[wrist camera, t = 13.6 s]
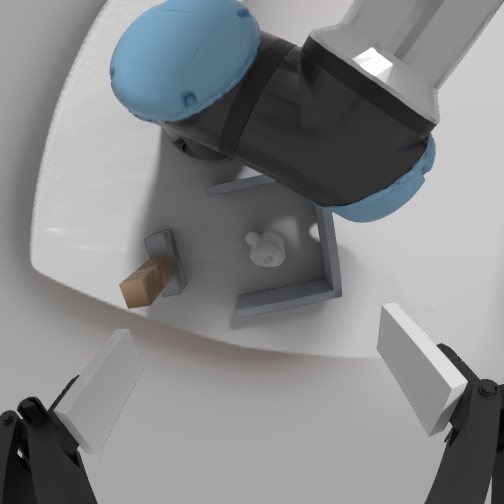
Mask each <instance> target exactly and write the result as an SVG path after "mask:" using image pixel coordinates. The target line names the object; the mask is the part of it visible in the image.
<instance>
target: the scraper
mask: <svg viewBox="0 0 504 504" xmlns="http://www.w3.org/2000/svg"><path fill="white" fill-rule="evenodd" d="M144 240H145V244H146V247H147V250H148V254H149V257H150V260H148V261H147V262H146V263H145V264H144V265H142V266H141V267H140V268H139V269H137V270H136V271H135V272H134V273H133V274H131V275H130V276H129V277H128V278H127V279H125V280H124V281H123V282H122V283H121V284H119V285H120V288H121V291H122V294H123V296H124V299H125V302H126V304H127V307H128V309H130V308H137V307H143V306H150V305H151V304H152V303H153V301H154V300H155V299H156V298H157V296H158V295H159V294H160V293H161V294H162V297H166V296H172V295H178V294H181V293H182V291H183V289H184V288H185V286H186V285H187V282H186V279H185V276H184V272H183V269H182V266H181V262H180V259H179V255H178V252H177V248H176V245H175V241H174V237H173V234H172V230H171V229H170V230H166V231H162V232H158V233H154V234H152V235H151V236H149V237H147V238H145V239H144Z"/></svg>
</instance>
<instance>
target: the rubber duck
mask: <svg viewBox="0 0 504 504" xmlns="http://www.w3.org/2000/svg"><path fill="white" fill-rule="evenodd" d="M245 241H246V242H247V243H248V244H249V245H251V248H250V260H251V261H252V262H253V263H254V264H256V265H257V266H260V267H277V266H279V265H281V264H282V263H283V262H284V260H285V258H286V253H285V242H284V239H283V237H282V236H281V235H280V234H279V233H278V232H276V231H275V230H269V231H266V232H263V233H261V234H259V233H257V232H256V231H250V232H248V233H247V234H246V236H245Z"/></svg>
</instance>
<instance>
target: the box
mask: <svg viewBox="0 0 504 504" xmlns="http://www.w3.org/2000/svg"><path fill="white" fill-rule="evenodd" d="M273 182H277V181H275V180H273V179H271V178H269V177H267V176H265V175H260V176H255V177H250V178H245V179H241V180H236V181H232V182H227V183H223V184H219V185H215V186H211V187H206V188H205V189H206V193H207V197H209V196H213V195H218V194H222V193H226V192H231V191H235V190H240V189H244V188H249V187H254V186H258V185H263V184H268V183H273ZM314 207H315V212H316V218H317V224H318V230H319V237H320V243H321V250H322V257H323V264H324V271H325V278H324V279H320V280H315V281H310V282H306V283H301V284H296V285H291V286H286V287H282V288H277V289H272V290H266V291H261V292H256V293H251V294H246V295H240V296H238V299H237V305H236V313H237V317H238V318H239V317H244V316H250V315H256V314H261V313H266V312H272V311H277V310H282V309H287V308H292V307H297V306H301V305H306V304H311V303H315V302H320V301H324V300H328V299H333V298H337V297H341V296H342V287H341V278H340V268H339V260H338V252H337V244H336V237H335V230H334V223H333V216H332V211H330V210H324V209H323V208H319V207H317V206H316V205H314Z"/></svg>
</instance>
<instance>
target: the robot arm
mask: <svg viewBox="0 0 504 504" xmlns="http://www.w3.org/2000/svg"><path fill="white" fill-rule="evenodd" d="M503 2H504V0H354V2H353V3H352V5H351V6H350V8H349V10H348V11H347V13H346V14H345V16H344V18H343V19H342V21H341V22H340V23H338V24H337V25H333V26H329V27H324V28H320V29H316V30H312V31H311V32H310V34H309V36H308V38H307V40H306V41H305V43H304V45H303V47H298V46H297V45H294V44H292V43H290V42H288V41H286V40H283V39H281V38H278V37H276V36H274V35H271V34H269V33H266V32H264V31H261V30H259V25H258V23H257V21H256V20H255V18H254V17H253V16H252V15H251V14H250V12H249V10H248V9H247V8H246V7H245V6H244V5H243V4H242V3H241V2H239V1H237V0H167V1H165V2H164V3H162V4H160V5H157V6H154V7H152V8H150V9H149V10H147V11H146V12H145V13H143V14H142V15H141V16H140V17H138V18H137V19H136V20H135V21H134V22H133V23H132V24H131V25H130V26H129V27H128V29H127V30H126V31H125V32H124V34H123V35H122V37H121V38H120V40H119V42H118V43H117V45H116V48H115V50H114V52H113V55H112V59H111V63H110V75H111V77H110V79H111V87H112V90H113V92H114V94H115V96H116V98H117V99H118V100H119V102H120V103H121V104H122V105H123V106H125V107H126V108H127V109H128V110H129V112H130V113H132V114H133V115H134V116H135V117H137V118H139V119H141V120H143V121H147V122H150V123H155V124H157V125H159V126H161V127H162V128H164V129H165V132H166V134H167V136H168V138H169V139H170V141H171V142H172V143H173V144H174V146H175V147H177V148H178V149H179V150H180V151H181V152H183V153H185V154H186V155H188V156H190V157H193V158H196V159H199V160H203V161H210V162H218V161H225V160H229V159H234V160H236V161H238V162H240V163H242V164H244V165H246V166H248V167H250V168H252V169H254V170H256V171H258V172H260V173H261V174H263V175H265V176H267V177H269V178H271V179H273V180H275V181H277V182H279V183H280V184H282V185H284V186H286V187H288V188H290V189H292V190H293V191H295V192H297V193H299V194H301V195H302V196H304V197H306V198H308V199H310V201H311V202H312V203H313V204H314V205H316V206H317V207H319V208H323V209H324V210H330V211H332V212H334V213H336V214H338V215H340V216H341V217H343V218H345V219H347V220H349V221H354V222H360V223H363V222H372V221H376V220H379V219H381V218H384V217H386V216H388V215H390V214H391V213H393V212H395V211H396V210H398V209H399V208H400V207H402V206H403V205H404V204H405V203H406V202H408V201H409V200H410V199H411V198H412V197H413V196H414V195H415V193H416V192H417V191H418V190H419V189H420V187H421V186H422V184H423V183H424V181H425V179H424V176H423V175H424V174H425V173H426V172H428V171H430V170H431V168H432V166H433V163H434V159H435V142H434V139H433V137H432V134H431V131H432V130H433V129H434V127H435V126H436V125H437V124H438V123H439V121H440V114H439V107H438V100H437V95H438V90H439V89H440V87H441V86H442V85H443V83H444V82H445V81H446V80H447V78H448V77H449V76H450V74H451V73H452V72H453V71H454V69H455V68H456V67H457V66H458V64H459V63H460V62H461V60H462V59H463V58H464V56H465V55H466V54H467V52H468V51H469V50H470V48H471V47H472V46H473V44H474V43H475V42H476V40H477V39H478V38H479V36H480V35H481V33H482V32H483V31H484V29H485V28H486V26H487V25H488V24H489V22H490V21H491V19H492V18H493V16H494V15H495V14H496V12H497V11H498V9H499V8H500V6H501V5H502V3H503ZM377 350H378V351H379V353H380V355H381V356H382V358H383V359H384V361H385V362H386V364H387V366H388V367H389V369H390V371H391V372H392V374H393V376H394V377H395V379H396V380H397V382H398V384H399V385H400V387H401V389H402V390H403V392H404V394H405V396H406V397H407V399H408V401H409V402H410V404H411V406H412V408H413V409H414V411H415V413H416V414H417V416H418V418H419V420H420V422H421V423H422V425H423V427H424V429H425V431H426V432H427V434H428V436H429V437H430V436H432V435H434V434H436V433H439V432H441V431H443V430H444V429H445V427H446V426H447V424H448V422H449V421H450V423H451V424H452V426H453V427H452V428H451V430H450V432H449V433H448V435H447V437H446V438H445V441H444V442H446V441H447V440H448V441H447V444H446V448H445V451H444V454H443V458H442V461H441V464H440V467H439V469H438V472H437V475H436V477H435V480H434V483H433V485H432V488H431V490H430V493H429V495H428V497H427V499H426V502H425V504H484V502H485V499H486V496H487V492H488V488H489V484H490V480H491V476H492V495H491V504H504V384H502V385H497V383H495V382H494V381H492V380H489V379H482V380H480V379H479V378H478V377H477V376H476V375H475V374H474V373H473V371H472V370H471V369H470V368H469V367H468V366H467V365H466V364H465V363H464V362H463V361H462V359H460V357H459V356H457V354H456V353H455V352H454V351H453V350H452V349H451V348H450V347H448V346H446V345H444V344H442V343H441V344H438V345H435V344H434V343H433V342H432V341H431V339H430V338H429V337H428V336H427V335H426V334H425V333H424V332H423V331H422V330H421V329H420V328H419V327H418V326H417V325H416V324H415V322H414V321H413V320H412V319H411V318H410V317H409V316H408V315H407V314H406V313H405V312H404V311H403V310H402V309H401V308H400V307H399V306H398V305H397V304H396V303H395V302H393V303H388V304H383V305H382V308H381V318H380V328H379V336H378V344H377ZM142 372H143V366H142V364H141V362H140V359H139V356H138V354H137V351H136V348H135V346H134V343H133V340H132V337H131V335H130V332H129V329H117V330H116V331H115V332H114V333H113V335H112V336H111V337H110V338H109V339H108V341H107V342H106V343H105V344H104V346H103V347H102V348H101V349H100V350H99V352H98V353H97V354H96V355H95V357H94V358H93V359H92V360H91V362H90V363H89V364H88V365H87V367H86V368H85V369H84V370H83V372H82V373H81V374H80V375H78V376H76V377H75V378H73V379H72V380H71V381H70V382H69V383H68V385H67V386H66V389H64V390H63V391H62V394H60V395H59V396H58V398H57V399H56V400H55V402H54V403H53V404H52V406H51V407H50V408H49V410H48V411H47V410H46V409H45V408H44V406H43V405H42V403H41V401H40V400H39V399H38V398H36V397H28V398H26V399H24V400H23V401H22V402H20V404H19V405H18V408H17V411H18V412H19V413H20V415H21V416H22V417H23V419H20V418H19V416H18V415H17V413H16V412H14V411H12V410H9V411H6V412H4V413H2V415H1V416H0V504H98V503H97V501H96V498H95V496H94V493H93V491H92V488H91V486H90V483H89V481H88V477H87V474H86V472H85V468H84V465H83V463H82V459H81V456H80V453H79V452H78V451H77V447H78V446H79V445H80V446H81V447H82V448H83V450H84V451H85V452H86V453H89V454H92V455H95V456H98V457H99V456H100V454H101V452H102V450H103V448H104V446H105V444H106V442H107V439H108V438H109V436H110V433H111V431H112V429H113V427H114V425H115V423H116V421H117V419H118V418H119V416H120V414H121V412H122V410H123V408H124V406H125V404H126V402H127V400H128V398H129V396H130V394H131V392H132V390H133V388H134V386H135V385H136V382H137V381H138V379H139V377H140V375H141V373H142ZM18 449H19V451H20V452H21V453H22V454H23V455H22V458H21V457H20V456H19V455H18V454H17V452H18Z"/></svg>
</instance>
